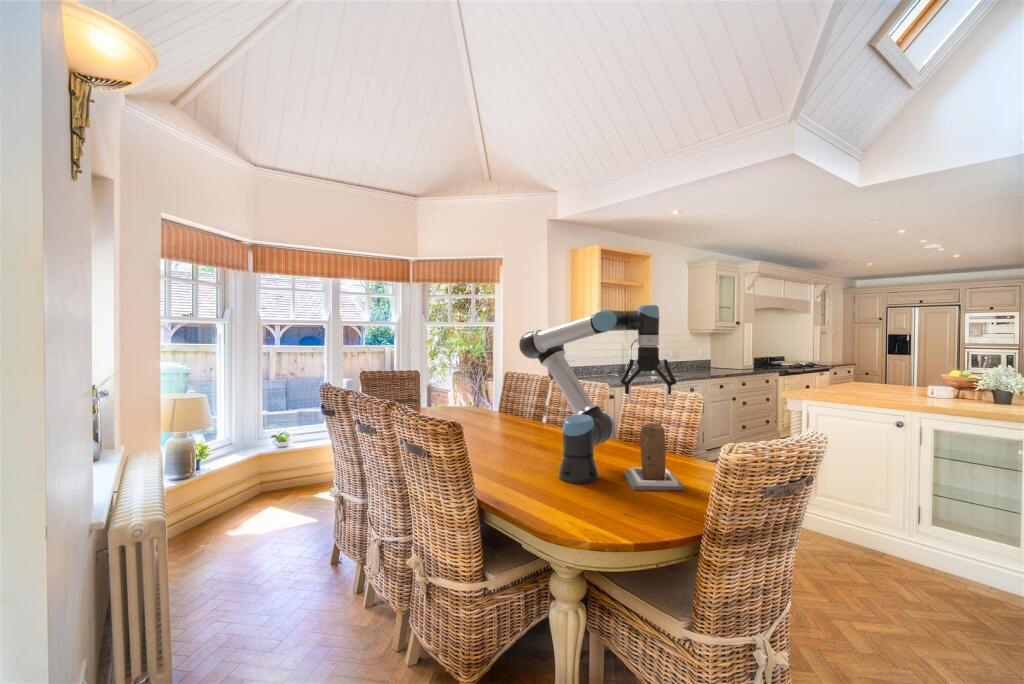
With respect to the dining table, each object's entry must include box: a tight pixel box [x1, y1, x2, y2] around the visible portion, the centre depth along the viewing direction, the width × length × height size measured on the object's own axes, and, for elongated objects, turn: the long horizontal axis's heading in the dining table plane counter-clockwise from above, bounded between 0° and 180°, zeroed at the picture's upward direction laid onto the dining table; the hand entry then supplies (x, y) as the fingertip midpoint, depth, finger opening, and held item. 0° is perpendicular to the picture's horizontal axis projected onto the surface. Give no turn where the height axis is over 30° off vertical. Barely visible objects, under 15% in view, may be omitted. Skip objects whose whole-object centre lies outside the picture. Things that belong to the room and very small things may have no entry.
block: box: [640, 423, 666, 481], centre depth 174 cm, size 11×8×20 cm
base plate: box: [623, 466, 686, 491], centre depth 175 cm, size 18×18×3 cm
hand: (647, 402), depth 176 cm, fingers open, 13 cm apart
